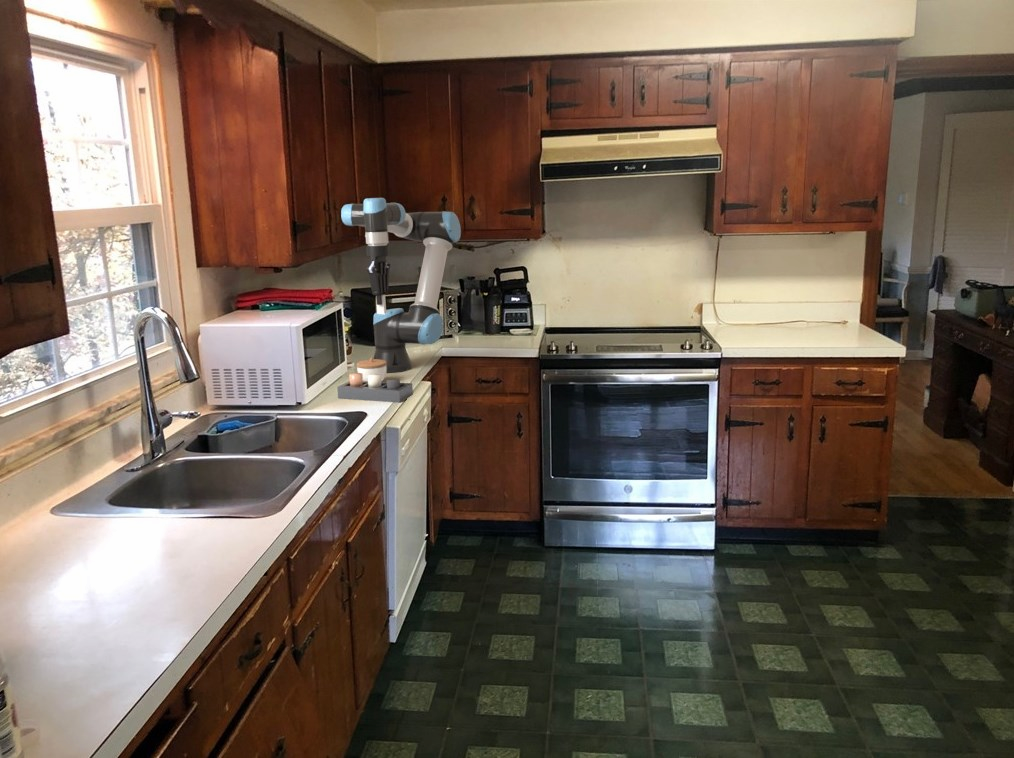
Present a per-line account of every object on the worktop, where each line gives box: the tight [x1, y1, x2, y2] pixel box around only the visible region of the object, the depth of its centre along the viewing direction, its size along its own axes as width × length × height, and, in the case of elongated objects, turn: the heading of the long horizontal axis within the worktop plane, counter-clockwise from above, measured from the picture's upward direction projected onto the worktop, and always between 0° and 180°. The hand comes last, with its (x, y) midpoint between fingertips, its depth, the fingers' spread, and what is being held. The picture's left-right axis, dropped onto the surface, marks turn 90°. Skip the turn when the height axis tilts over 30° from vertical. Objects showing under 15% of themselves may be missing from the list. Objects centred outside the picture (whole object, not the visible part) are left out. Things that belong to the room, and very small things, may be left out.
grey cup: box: [386, 378, 401, 389], centre depth 265 cm, size 4×4×5 cm
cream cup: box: [368, 374, 382, 388], centre depth 267 cm, size 4×4×5 cm
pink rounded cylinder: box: [348, 372, 363, 387], centre depth 269 cm, size 4×4×5 cm
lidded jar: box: [356, 357, 387, 382], centre depth 286 cm, size 11×11×9 cm
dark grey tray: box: [336, 380, 414, 403], centre depth 268 cm, size 10×23×4 cm, turn 71°
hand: (381, 313), depth 273 cm, fingers closed
